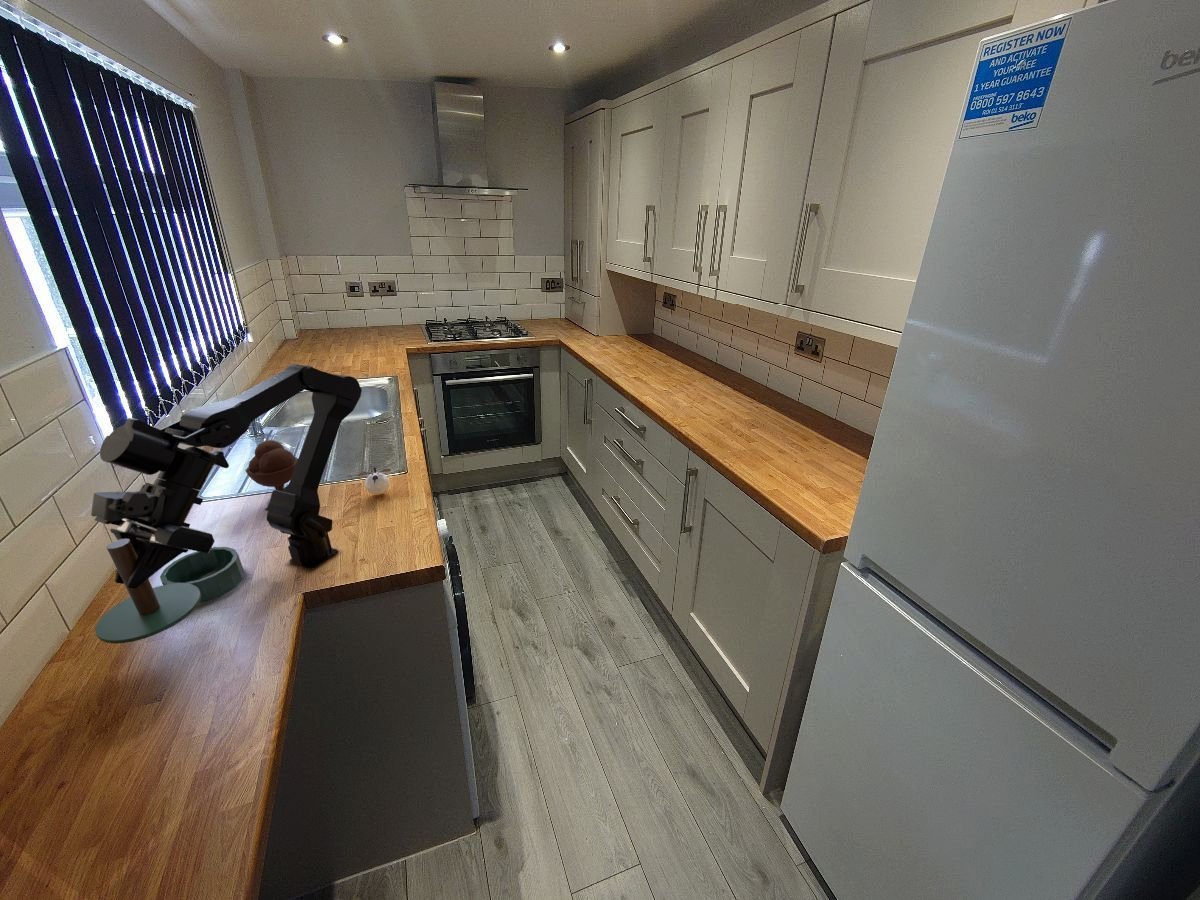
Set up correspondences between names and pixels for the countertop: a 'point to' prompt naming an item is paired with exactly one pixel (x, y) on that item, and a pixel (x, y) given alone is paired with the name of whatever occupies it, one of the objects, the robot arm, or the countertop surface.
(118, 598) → the countertop surface
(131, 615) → the lid
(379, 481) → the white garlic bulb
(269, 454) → the ice cream bowl
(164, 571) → the tin
